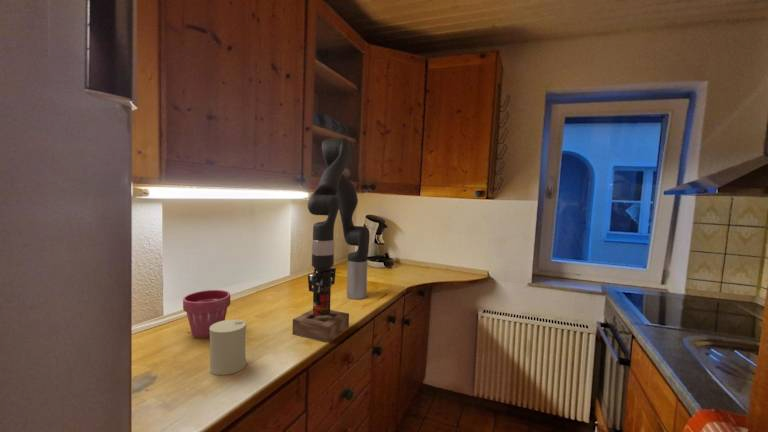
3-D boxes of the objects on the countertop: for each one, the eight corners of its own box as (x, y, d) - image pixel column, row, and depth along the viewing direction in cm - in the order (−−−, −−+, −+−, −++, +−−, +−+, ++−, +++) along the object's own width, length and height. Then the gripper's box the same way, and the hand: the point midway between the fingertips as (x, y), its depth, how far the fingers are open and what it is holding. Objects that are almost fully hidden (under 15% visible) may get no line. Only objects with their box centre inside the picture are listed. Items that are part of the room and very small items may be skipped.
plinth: (316, 320, 128) (316, 307, 128) (348, 327, 123) (349, 313, 123) (292, 334, 116) (292, 319, 115) (327, 342, 110) (327, 326, 110)
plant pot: (173, 335, 111) (172, 297, 111) (210, 321, 124) (210, 287, 123) (203, 345, 106) (203, 304, 105) (239, 329, 118) (239, 293, 118)
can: (252, 366, 94) (252, 324, 93) (217, 379, 87) (217, 333, 86) (236, 355, 100) (237, 315, 99) (203, 366, 93) (203, 323, 92)
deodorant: (309, 313, 118) (310, 271, 117) (320, 309, 123) (321, 268, 122) (323, 317, 115) (324, 273, 114) (333, 312, 120) (334, 270, 119)
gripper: (325, 248, 126) (324, 293, 127) (301, 254, 112) (300, 304, 113) (342, 250, 123) (341, 296, 124) (320, 257, 109) (319, 308, 111)
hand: (321, 300), depth 119 cm, fingers closed on deodorant, 6 cm apart
